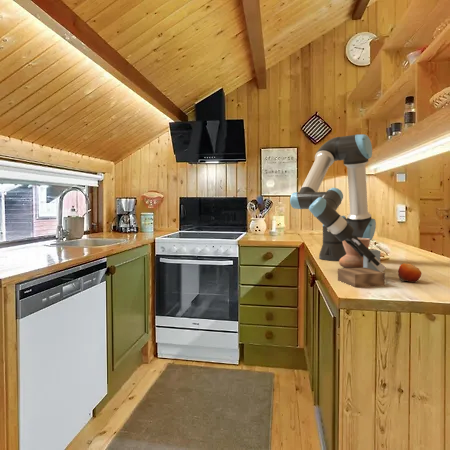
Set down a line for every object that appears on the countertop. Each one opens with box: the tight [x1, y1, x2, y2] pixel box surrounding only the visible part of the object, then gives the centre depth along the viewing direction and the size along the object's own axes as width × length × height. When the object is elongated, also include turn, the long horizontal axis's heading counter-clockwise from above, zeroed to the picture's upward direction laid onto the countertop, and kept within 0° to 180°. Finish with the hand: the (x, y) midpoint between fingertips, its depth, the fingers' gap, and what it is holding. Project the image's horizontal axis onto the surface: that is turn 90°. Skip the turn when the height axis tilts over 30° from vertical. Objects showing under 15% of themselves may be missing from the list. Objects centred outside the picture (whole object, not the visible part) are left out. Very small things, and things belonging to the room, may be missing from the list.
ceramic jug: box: [338, 238, 371, 268], centre depth 164 cm, size 18×14×14 cm
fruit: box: [397, 262, 422, 283], centre depth 139 cm, size 8×8×8 cm
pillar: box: [363, 248, 381, 272], centre depth 147 cm, size 5×5×11 cm
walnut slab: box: [337, 267, 386, 288], centre depth 137 cm, size 12×12×5 cm
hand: (380, 268), depth 147 cm, fingers closed on pillar, 5 cm apart
